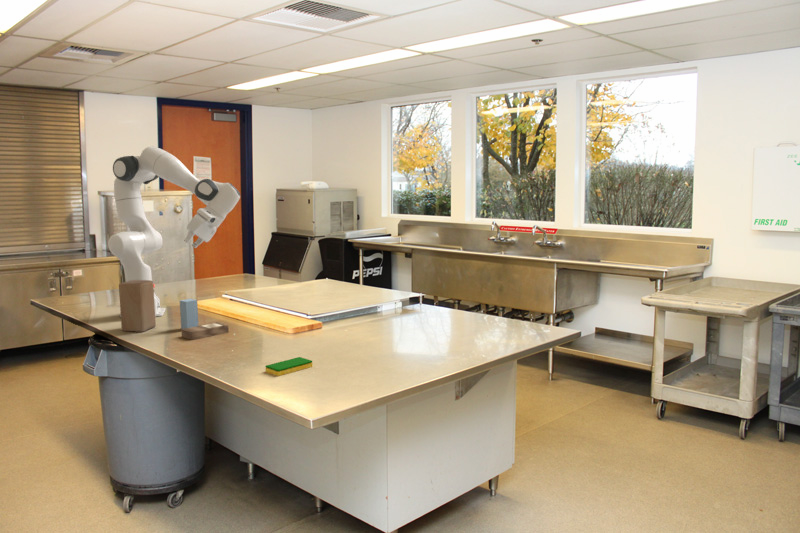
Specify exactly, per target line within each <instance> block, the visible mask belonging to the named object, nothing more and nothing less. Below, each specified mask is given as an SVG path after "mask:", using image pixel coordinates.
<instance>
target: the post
mask: <svg viewBox="0 0 800 533" xmlns="http://www.w3.org/2000/svg"><path fill="white" fill-rule="evenodd" d="M198 310H199V309H198V300H197V299H194V298H187V299H180V300H179V311H180V312H179V313H180V327H181V329H186V328H191V327H196V326H199V312H198ZM181 329H180V330H181Z"/></svg>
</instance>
